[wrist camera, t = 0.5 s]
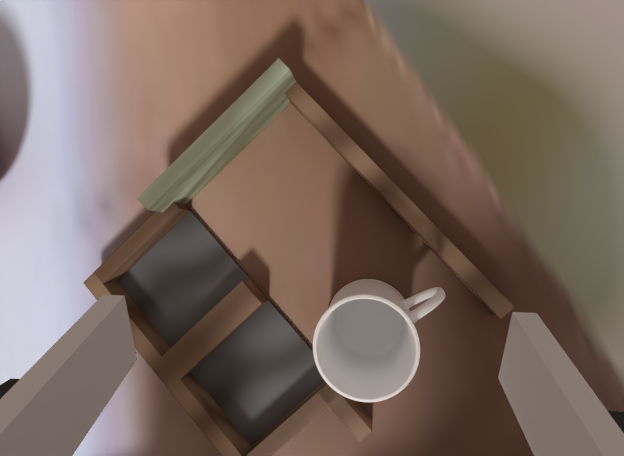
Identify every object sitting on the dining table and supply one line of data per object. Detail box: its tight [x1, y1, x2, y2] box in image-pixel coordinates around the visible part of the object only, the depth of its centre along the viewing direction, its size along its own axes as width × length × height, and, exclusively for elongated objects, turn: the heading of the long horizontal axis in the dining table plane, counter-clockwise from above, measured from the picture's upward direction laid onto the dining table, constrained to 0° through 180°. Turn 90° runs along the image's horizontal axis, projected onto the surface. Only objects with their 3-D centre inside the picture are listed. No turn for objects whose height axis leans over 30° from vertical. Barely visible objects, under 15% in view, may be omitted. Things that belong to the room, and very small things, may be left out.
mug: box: [313, 279, 445, 402], centre depth 38 cm, size 12×8×12 cm
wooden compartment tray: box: [84, 58, 515, 456], centre depth 42 cm, size 32×31×6 cm
